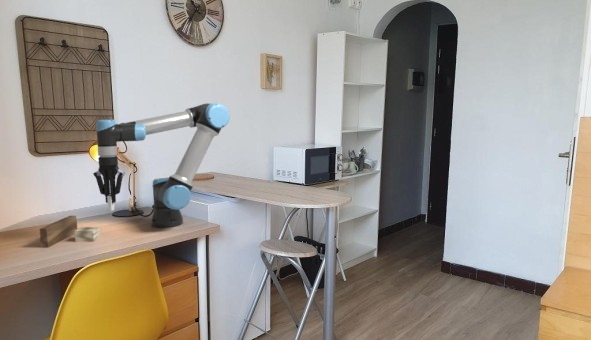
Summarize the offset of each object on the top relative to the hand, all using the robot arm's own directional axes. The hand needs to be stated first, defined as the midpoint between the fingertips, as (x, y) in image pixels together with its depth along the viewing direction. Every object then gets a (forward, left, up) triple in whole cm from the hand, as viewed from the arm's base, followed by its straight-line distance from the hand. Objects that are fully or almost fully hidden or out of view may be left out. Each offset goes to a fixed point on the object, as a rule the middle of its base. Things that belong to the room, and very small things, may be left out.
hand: (111, 210), depth 187 cm
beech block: (+12, 0, -14) cm, 18 cm away
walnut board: (+24, 0, -13) cm, 28 cm away
